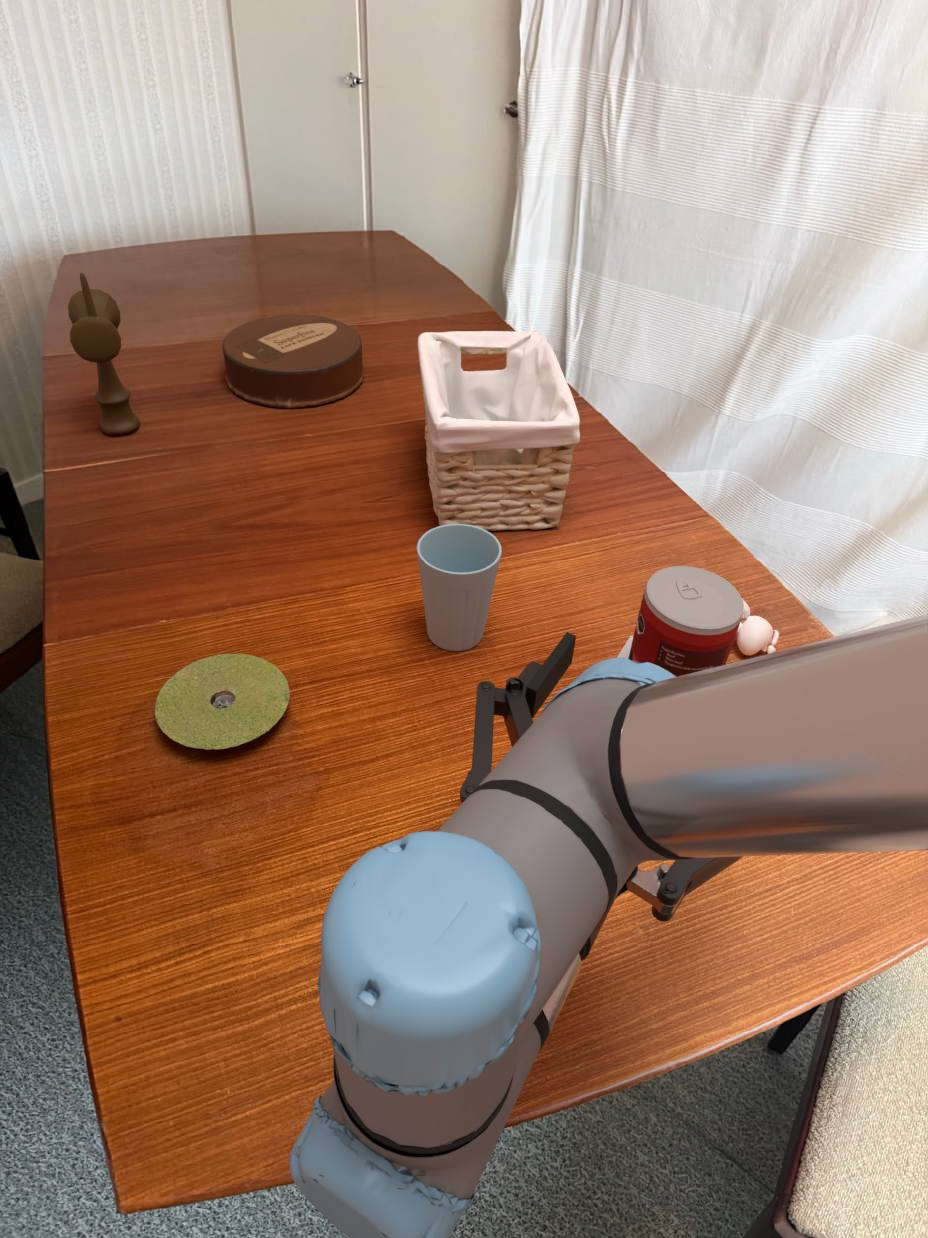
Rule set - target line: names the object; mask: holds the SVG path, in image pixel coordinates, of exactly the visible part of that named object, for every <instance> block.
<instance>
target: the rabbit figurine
mask: <svg viewBox="0 0 928 1238" xmlns="http://www.w3.org/2000/svg"><path fill="white" fill-rule="evenodd" d="M742 600H743V605H744V609H743V614H742V619H745V620H744V621H743V622H742V621H741V622H740V625H739V628H738V631H737V634H736V644H737V647H738V650H739V651H740V652H741V654H743V655H745V656H754V655H755V654H757V653H758V652H759V651H762V652H763V653H765V652H767V654H770V653H774V652H777V649H776V647H774V646H776V645H777V643H778V641H779V638H780V632H779V631H778V630H777V629H774V628H773V626H772V625H771V624H770V622H769V621H768V620H767V619H766V618H763V617H761V616H759V615H751V608H750V606H749V604H748V603H747V602H746V601H745V600H744V599H743V598H742Z"/></svg>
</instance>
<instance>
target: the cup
mask: <svg viewBox="0 0 928 1238" xmlns="http://www.w3.org/2000/svg"><path fill="white" fill-rule="evenodd" d="M502 552H503V548H502V545H501V543H500V541H499V539H498V538H497V536H495V535H494V534H493V533H491V532H490V531H489V530H484V529H482V528H479V527H476V526H473V525H467V524H447V525H442V526H436V527H433V528H431V529H429V530H427V531H426V532H425V533H423V534H422V536H421V537H420V538H419V539H418V541H417V544H416V553H417V561H418V569H419V576H420V584H421V585H420V586H421V593H422V600H423V608H424V615H425V616H424V617H425V624H426V632H427V636H428V638H429V640H430V641H431V642H432V643H433V644H434V645H435V646H436V647H438V648H440V649H442V650H445V651H450V652H462V651H463V652H464V651H468V650H470V649H472V648H474V647H476V646H478V644H479V643H480V642H481V640H482V639H483V637H484V632H485V629H486V625H487V620H488V616H489V611H490V606H491V603H492V597H493V594H494V589H495V584H496V579H497V575H498V572H499V566H500V564H501V557H502Z"/></svg>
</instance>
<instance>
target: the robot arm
mask: <svg viewBox="0 0 928 1238" xmlns="http://www.w3.org/2000/svg"><path fill="white" fill-rule="evenodd" d="M576 640H577V635H576V634H572V633H570V632H568V631H566V633H565V634H564V635H563V637H562V638H561V639H560V641H559V642H558V643H557V645H556V646H555V647H554V648H553V650H552V651H551V653H550V654H549V656H548V657H547V658H546V659H545V661H544V662H543V664H542V663H538V662H536V661H531V662H529V663H528V664H527V665H526V666H525V667H524V668H523V670H522V671H521V673H520V674H519V675H518V677H517V676H511V677H509V678H508V679H507V680H506V682H505V687H504V688H502V687H501V688H500V687H496V686H495V684H494V683H493V682H491V681H489V680H483V681H480V682H478V684H477V687H476V697H475V698H476V700H475V711H474V712H475V713H474V728H473V729H474V730H473V744H472V756H471V757H472V759H471V761H472V762H471V768H470V770H469V772H468V773H467V775H466V777H465V779H464V780H463V783H462V785H461V787H460V790H459V803H458V807H457V809H455V811H453V813H452V814H451V815H450V817H449V818H447V820H446V821H444V823H443V824H442V825H441V826H440V828H439V829H437V830H435V831H434V830H423V831H414V832H410V833H408V834H407V835H405V836H403V837H401V838H399V839H395V840H393V841H389V842H387V843H385V844H383V845H381V846H379V845H378V846H375V848H371V849H370V850H368V851H367V852H365V853H363V854H362V855H361V856H360V857H359V858H358V859H357V860H356V861H355V862H354V863H353V864H352V865H351V866H350V867H349V868H348V870H347V871H346V872H345V873H344V874H343V875H342V877H341V879H340V880H339V882H338V883H337V884H336V886H335V888H334V890H333V891H332V893H331V895H330V898H329V900H328V903H327V906H326V908H325V911H324V915H323V919H322V925H321V931H320V951H321V953H320V955H321V957H320V967H319V971H318V976H319V977H318V980H317V988H318V999H319V1009H320V1013H321V1015H322V1017H323V1022H324V1026H325V1030H326V1032H327V1034H328V1035H329V1037H330V1041H331V1046H332V1051H333V1058H332V1070H333V1080H332V1082H331V1083H330V1085H328V1087H327V1089H326V1090H325V1092H323V1094H322V1095H319V1096H317V1098H316V1099H315V1100H314V1102H313V1103H312V1110H311V1112H310V1114H309V1116H308V1118H307V1119H306V1121H305V1123H304V1125H303V1127H302V1129H301V1131H300V1132H299V1135H298V1136H297V1138H296V1140H295V1142H294V1144H293V1146H292V1148H291V1151H290V1154H289V1158H288V1159H289V1161H288V1167H289V1171H290V1175H291V1177H292V1181H293V1182H294V1184H295V1186H296V1187H297V1189H298V1190H299V1191H300V1193H301V1194H302V1196H304V1198H305V1199H306V1200H307V1201H308V1202H309V1203H310V1204H311V1205H312V1206H313V1207H314V1209H315V1210H317V1212H319V1213H320V1214H321V1215H322V1216H323V1218H325V1219H326V1220H327V1221H329V1223H331V1224H332V1225H333V1226H334V1227H335V1228H336V1229H338V1230H339V1231H340V1232H341V1233H343V1234H344V1235H345V1236H346V1237H347V1238H450V1237H451V1236H452V1234H453V1232H454V1230H455V1229H456V1227H457V1225H458V1223H459V1221H460V1220H461V1218H462V1216H463V1214H464V1213H465V1212H466V1210H470V1208H471V1207H472V1204H473V1202H474V1200H475V1197H476V1195H475V1190H476V1188H477V1186H478V1183H479V1181H480V1179H481V1177H482V1175H483V1173H484V1170H485V1169H486V1166H487V1164H488V1162H489V1160H490V1158H491V1156H492V1154H493V1152H494V1149H495V1147H496V1146H497V1143H498V1141H499V1140H500V1138H501V1135H502V1132H503V1131H504V1129H505V1127H506V1125H507V1123H508V1121H509V1118H510V1116H511V1114H512V1112H513V1110H514V1108H515V1106H516V1103H517V1101H518V1098H519V1096H520V1094H521V1092H522V1090H523V1088H524V1086H525V1084H526V1081H527V1079H528V1076H529V1075H530V1072H531V1070H532V1068H533V1066H534V1064H535V1061H536V1060H537V1057H538V1055H539V1053H540V1052H541V1050H542V1049H543V1047H544V1045H545V1043H546V1041H547V1039H548V1037H549V1035H550V1033H551V1031H552V1029H553V1027H554V1026H555V1023H556V1021H557V1019H558V1017H559V1015H560V1013H561V1011H562V1009H563V1007H564V1005H565V1003H566V1000H567V999H568V997H569V994H570V993H571V990H572V988H573V987H574V984H575V982H576V981H577V978H578V977H579V975H580V973H581V971H582V962H583V961H584V960H585V959H587V957H588V956H589V954H590V952H591V950H592V949H593V946H594V944H595V942H596V939H597V938H598V936H599V934H600V931H601V930H602V927H603V925H604V923H605V921H606V919H607V917H608V915H609V913H610V911H611V909H612V907H613V904H614V903H615V901H616V900H617V899H618V898H619V897H620V896H621V895H622V894H624V893H626V892H628V891H629V892H630V893H632V894H634V895H635V896H637V897H638V898H639V899H642V900H643V901H644V902H646V903H648V904H649V905H651V908H650V909H651V910H650V911H651V915H652V916H653V918H654V919H656V920H657V921H659V922H663V923H664V922H665V923H666V922H669V921H671V919H672V918H673V917H674V915H675V914H676V912H677V910H678V908H679V907H680V906H681V904H682V902H683V900H684V898H685V897H686V896H688V895H689V894H691V893H692V892H694V891H695V890H696V889H698V888H699V887H701V886H702V885H704V884H705V883H708V881H710V880H711V879H713V878H715V877H716V876H717V875H719V874H720V873H722V872H723V871H725V870H726V869H727V868H729V867H730V866H732V865H734V864H735V863H736V862H738V861H739V860H741V859H742V858H744V857H766V856H767V857H769V856H770V857H771V856H799V855H826V854H828V855H829V854H832V855H833V854H859V853H861V854H863V853H884V852H885V853H886V852H888V853H889V852H891V853H892V852H917V851H918V852H919V851H928V613H926V614H922V615H917V616H913V617H911V618H906V619H901V620H898V621H894V622H890V623H886V624H881V625H878V626H874V627H870V628H865V629H861V630H858V631H854V632H850V633H846V634H842V635H839V636H838V635H837V636H834V637H830V638H826V639H821V640H819V641H814V642H811V643H806V644H802V645H798V646H794V647H790V648H786V649H783V650H777V651H775V652H774V653H770V654H768V653H767V654H763V655H758V656H755V657H750V658H745V659H743V660H738V661H734V662H730V663H726V665H722V666H718V667H714V668H710V669H706V670H702V671H698V672H694V673H690V674H686V675H682V676H678V677H676V676H674V675H673V674H671V673H670V672H669V671H667V670H665V669H663V668H661V667H659V666H657V665H655V664H652V663H649V662H646V663H639V662H635V661H631V660H629V659H628V658H617V657H612V658H607V659H604V660H601V661H598V662H596V663H594V664H592V665H590V666H589V667H587V668H586V669H585V670H584V671H582V673H580V674H579V675H578V676H577V677H576V678H575V679H574V680H572V682H570V683H569V685H567V686H566V687H564V688H562V689H561V690H559V691H557V692H556V694H554V695H553V697H552V698H551V700H550V701H549V702H548V703H546V704H545V706H544V707H543V709H542V711H541V712H540V714H539V716H538V717H537V718H536V719H535V720H533V719H534V718H535V717H536V715H537V713H538V712H539V710H540V709H541V708H542V706H543V704H544V703H545V702H546V700H547V698H548V699H549V696H550V695H551V694H552V692H553V690H554V689H555V687H556V686H557V685H558V683H559V682H560V680H561V679H562V677H563V676H564V675H565V673H567V670H568V669H569V667H570V666H571V665H572V663H573V659H574V658H573V657H574V652H575V647H576ZM495 716H499V717H502V718H503V721H504V724H505V729H506V732H507V736H508V739H509V742H510V745H511V748H510V749H509V750H508V752H506V754H505V755H504V756H503V757H502V758H501V759H500V761H498V762H497V764H496V765H495V766H494V768H492V765H493V749H494V748H493V747H494V722H495ZM652 861H654V862H655V861H659V862H660V861H674V862H673V863H672V864H671V865H669V864H668V863H666V862H665V863H664V862H663V863H661V864H660V865H657V866H655V867H654V868H652V869H651V870H642V869H640V868H639V866H640V864H642V863H645V862H652Z"/></svg>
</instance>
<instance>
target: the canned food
mask: <svg viewBox="0 0 928 1238" xmlns="http://www.w3.org/2000/svg"><path fill="white" fill-rule="evenodd" d="M742 599H743V598H742V596H741V594H740V592H739V591H738V590H737V588H736V587H735V586H734V585H733V584H732V583H731V582H729V581H728V580H727V579H725V578H724V577H723V576H721V575H718V574H716V573H714V572H712V571H710V570H707V569H704V568H701V567H696V566H690V565H673V566H668V567H663V568H661V569H659V570H657V571H655V573H653V574H652V575H651V576H650V577H649V579H648V580H647V583H646V585H645V588H644V591H643V595H642V599H641V602H640V606H639V610H638V611H639V612H638V616H637V620H636V624H635V629H634V633H633V635H632V636H633V640H632V645H631V649H630V653H629V658H628V659H629V660H631V661H635V662H639V663H646V662H649V663H652V664H655V665H657V666H659V667H661V668H663V669H665V670H667V671H669V672H670V673H671V674H673V675H674V676H676V677H678V676H682V675H686V674H690V673H694V672H698V671H702V670H706V669H710V668H714V667H718V666H722V665H726V664H727V661H728V659H729V657H730V653H731V650H732V649H733V645H734V642H735V640H736V638H737V634H738V633H737V631H738V628H739V625H740V622H741V623H742V619H743V618H742V614H743V609H744V605H743V600H744V599H743V600H742Z"/></svg>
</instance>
